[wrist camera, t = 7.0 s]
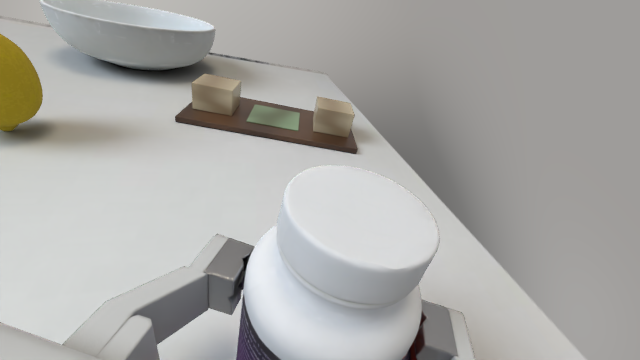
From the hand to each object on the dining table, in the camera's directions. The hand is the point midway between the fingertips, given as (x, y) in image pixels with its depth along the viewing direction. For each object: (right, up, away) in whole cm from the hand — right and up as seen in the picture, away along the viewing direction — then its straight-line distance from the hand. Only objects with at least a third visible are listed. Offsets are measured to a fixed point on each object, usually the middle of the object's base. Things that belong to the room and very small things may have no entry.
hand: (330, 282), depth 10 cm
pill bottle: (-1, -5, +2) cm, 6 cm away
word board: (-6, +11, +25) cm, 28 cm away
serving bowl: (-28, +22, +34) cm, 49 cm away
